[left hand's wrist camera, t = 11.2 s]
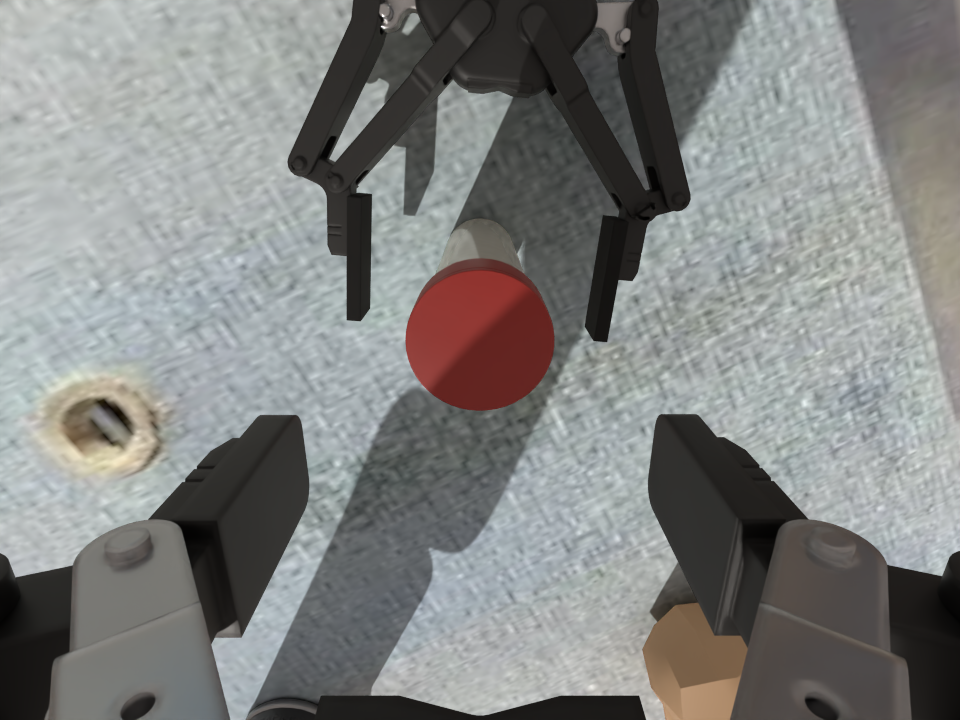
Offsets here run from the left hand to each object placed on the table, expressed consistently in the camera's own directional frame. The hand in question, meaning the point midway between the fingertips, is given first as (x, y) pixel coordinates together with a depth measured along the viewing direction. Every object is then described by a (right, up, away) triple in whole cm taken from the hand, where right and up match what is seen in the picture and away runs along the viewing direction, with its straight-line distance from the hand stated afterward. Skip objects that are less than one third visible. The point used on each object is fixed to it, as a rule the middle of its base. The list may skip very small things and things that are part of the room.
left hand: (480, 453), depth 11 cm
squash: (+21, -25, +37) cm, 49 cm away
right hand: (0, +4, +19) cm, 20 cm away
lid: (0, +3, +7) cm, 7 cm away
